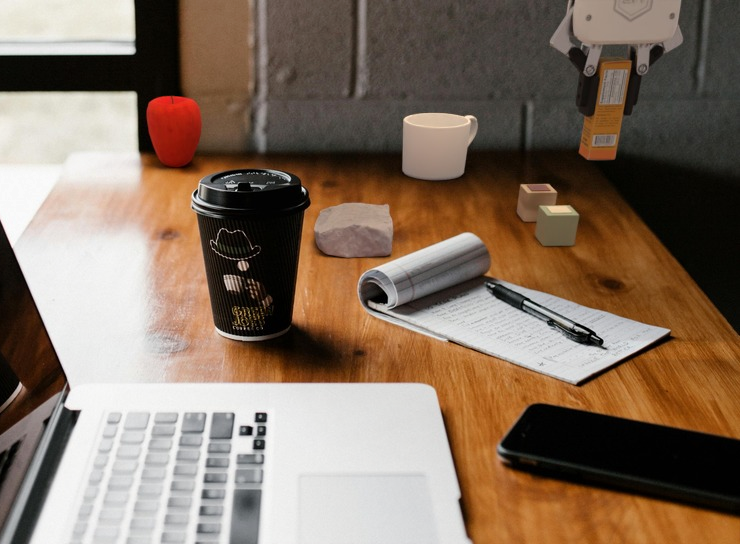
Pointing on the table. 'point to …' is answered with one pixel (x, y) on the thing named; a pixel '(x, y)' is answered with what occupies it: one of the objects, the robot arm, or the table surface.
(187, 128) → the apple
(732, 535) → the table surface
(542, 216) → the near letter block
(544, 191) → the far letter block
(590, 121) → the supplement box
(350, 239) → the stone block
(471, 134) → the mug
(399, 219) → the table surface
